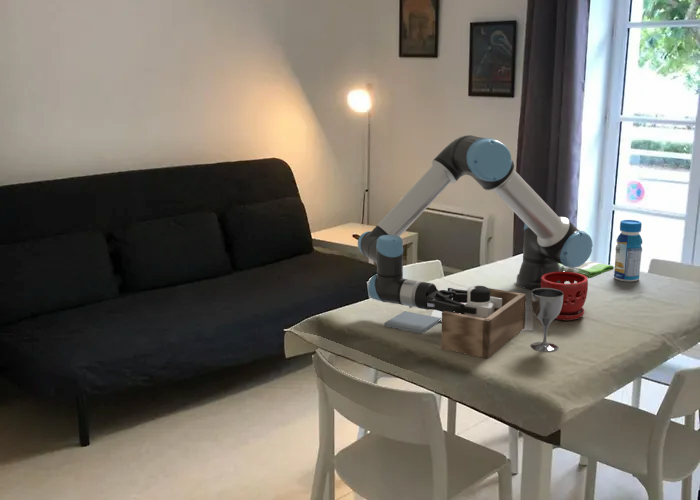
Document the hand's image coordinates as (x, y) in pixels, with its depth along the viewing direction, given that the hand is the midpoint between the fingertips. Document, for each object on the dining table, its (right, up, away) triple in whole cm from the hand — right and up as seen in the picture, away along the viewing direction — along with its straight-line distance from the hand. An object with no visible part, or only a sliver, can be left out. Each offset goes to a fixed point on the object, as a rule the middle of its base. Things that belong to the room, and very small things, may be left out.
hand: (495, 307), depth 197 cm
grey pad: (-21, -6, +16) cm, 26 cm away
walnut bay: (-2, -8, +4) cm, 10 cm away
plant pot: (+24, -4, +20) cm, 32 cm away
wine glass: (+12, -10, -3) cm, 16 cm away
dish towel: (+42, +9, +72) cm, 84 cm away
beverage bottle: (+56, +5, +56) cm, 80 cm away
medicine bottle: (-4, -6, +4) cm, 9 cm away
